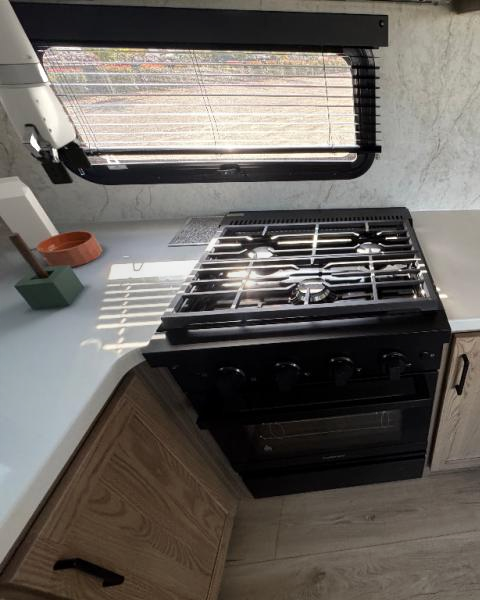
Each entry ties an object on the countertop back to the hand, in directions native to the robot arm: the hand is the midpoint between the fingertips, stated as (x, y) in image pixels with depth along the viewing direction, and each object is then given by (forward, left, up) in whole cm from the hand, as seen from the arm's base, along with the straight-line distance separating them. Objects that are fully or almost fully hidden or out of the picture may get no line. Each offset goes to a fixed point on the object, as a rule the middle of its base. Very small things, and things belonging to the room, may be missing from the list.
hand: (74, 175), depth 70 cm
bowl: (-19, +16, -27) cm, 37 cm away
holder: (-14, -4, -27) cm, 31 cm away
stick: (-14, -4, -27) cm, 31 cm away
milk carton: (-33, +28, -27) cm, 51 cm away
